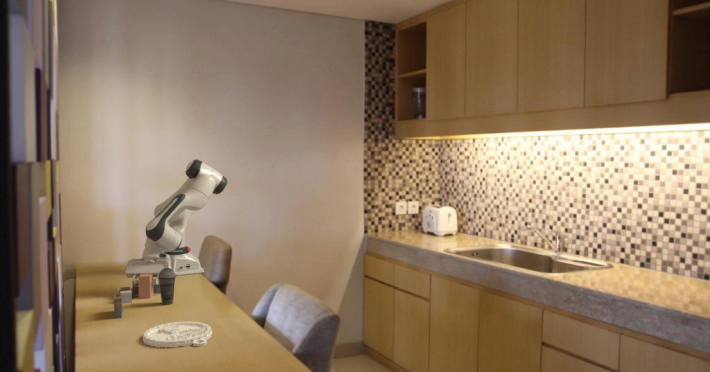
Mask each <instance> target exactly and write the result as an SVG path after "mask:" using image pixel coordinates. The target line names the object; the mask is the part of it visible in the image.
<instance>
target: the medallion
mask: <svg viewBox="0 0 710 372" xmlns="http://www.w3.org/2000/svg"><path fill="white" fill-rule="evenodd" d="M211 327H212V326H211V325H209V324H207V323H205V322H198V321H190V320H189V321H175V322H174V321H173V322H168V323H163V324H157V325H156V326H152V327H150V328H149V329H146V330H145V332H143V336H142V342H143V343H144V344H145V345H147V346H149V345H150V347H153V346H155V347H154V348H160V347H165V348H164V349H168V348H167V347H175V348H179V347H178V346H184V347H187V346H186V345H190V346H193V345H194V346H193V347H196V346H200V347H203V346H204V345H205V346H206V344H207V345H208V340H209V339H210V338H211V337H212V336H211V335H213V330H212V328H211ZM192 344H193V345H192ZM205 346H204V347H205Z"/></svg>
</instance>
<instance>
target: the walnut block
mask: <svg viewBox="0 0 710 372" xmlns="http://www.w3.org/2000/svg"><path fill="white" fill-rule="evenodd" d="M128 290H131V286H123V287H121V286H120V287H118V294H119V293H120V291H128Z"/></svg>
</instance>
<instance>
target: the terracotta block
mask: <svg viewBox="0 0 710 372" xmlns="http://www.w3.org/2000/svg"><path fill="white" fill-rule="evenodd" d="M153 279H154V277H153V274H141V275H140V276H138V277H137V280H138V281H139V295H138V299H152V297H154V294H153Z"/></svg>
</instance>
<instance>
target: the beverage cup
mask: <svg viewBox="0 0 710 372" xmlns="http://www.w3.org/2000/svg"><path fill="white" fill-rule="evenodd" d="M164 265H165V268H164V269H162V270H161V271H160V273H159V277H157V278H159V283H160V291H161V293H160V299H161V305H162V306H169V305H173V303H174V296H175V295H174V293H175V283H176V278H177V276H175V272H174V271H173V270H172V269H171V268H166V264H165V258H164Z"/></svg>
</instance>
